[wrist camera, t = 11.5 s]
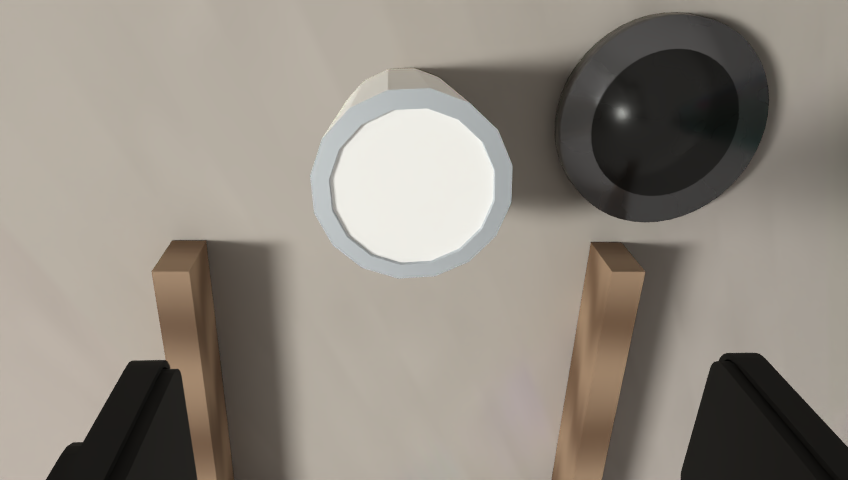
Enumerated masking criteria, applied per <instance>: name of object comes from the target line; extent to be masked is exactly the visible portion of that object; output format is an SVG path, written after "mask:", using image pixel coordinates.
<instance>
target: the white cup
mask: <svg viewBox="0 0 848 480" xmlns="http://www.w3.org/2000/svg"><path fill="white" fill-rule="evenodd" d="M512 166H513V165H512V163H511V160H510V158H509V156H508V153H507V151H506V148H505V146H504V143H503V141H502V138H501V136H500V133H499V131H498V129H497V128H495V127H494V126H493V125H492V124H491V123H490V122H489V121H488V120H487V119H486V118H485V117H484V116H483V115H482V114H481V113H480V112H479V111H478V110H477V109H476V108H475V107H474V106H472V105H471V104H470V103H469V102H468V101H467V100H466V99H465V98H463V97H462V96H461V95H460V94H458V93H457V92H456V91H455V90H454V89H452V88H451V87H450V86H449V85H448V84H446V83H445V82H444V81H443V80H442V79H440V78H439V77H437V76H434V75H432V74H429V73H426V72H424V71H421V70H418V69H416V68H404V69H387V70H385V71H383V72H381V73H379V74H377V75H375V76H373V77H370V78H368V79H366V80H364V81H363V82H362V83H361V85H360V86H359V87H358V88H357V89H356V90H355V91H354V93H353V94H352V95H351V96H350V97H349V98H348V99H347V101H346V102H345V104H344V105H343V107H342V108H341V110H340V112H339V113H338V115H337V116H336V118H335V119H334V121H333V122H332V124H331V126H330V127H329V129H328V130H327V132H326V133H325V135H324V136H323V138H322V141H321V144H320V147H319V150H318V153H317V156H316V159H315V162H314V165H313V169H312V172H311V175H310V179H311V188H312V197H313V206H314V214H315V215H316V217H317V219H318V221H319V222H320V224H321V226H322V227H323V229H324V231H325V233H326V234H327V236H328V238H329V240H330V241H331V243H332V245H333V246H334V247H336V248H337V249H338V250H340V251H341V252H342V253H343V254H345V255H346V256H347V257H349V258H350V259H351V260H353V261H354V262H355V263H356V264H358V265H359V266H360V267H362V268H364V269H368V270H371V271H374V272H378V273H381V274H384V275H388V276H391V277H395V278H414V277H430V276H437V275H439V274H441V273H444V272H446V271H448V270H451V269H453V268H455V267H458V266H460V265H462V264H465V263H467V262H469V261H470V260H471V259H472V258H473V257H474V256H475V255H477V254H478V253H479V252H480V251H481V250H482V249H483V248H484V247H485V246H486V245H487V244H488V243H489V242H490V241H491V240H492V239H493V238H494V237H495V236H496V235H497V233H498V230H499V228H500V226H501V224H502V222H503V220H504V217H505V215H506V213H507V211H508V209H509V207H510V204H511V198H512Z"/></svg>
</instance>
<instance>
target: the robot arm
mask: <svg viewBox="0 0 848 480" xmlns="http://www.w3.org/2000/svg"><path fill="white" fill-rule="evenodd" d="M46 480H198V479H197V473H196V466H195V460H194V453H193V447H192V440H191V434H190V427H189V421H188V414H187V408H186V401H185V394H184V388H183V381H182V375H181V372H180V370H179V369H170V365H169V363H168V361H166V360H144V361H131V362H129V363H128V365H127V366H126V368H125V370H124V371H123V373H122V375H121V377H120V378H119V380H118V382H117V384H116V385H115V387H114V389H113V391H112V392H111V394H110V396H109V398H108V399H107V401H106V403H105V405H104V406H103V408H102V410H101V412H100V413H99V415H98V417H97V419H96V420H95V422H94V424H93V426H92V427H91V429H90V431H89V433H88V434H87V436H86V438H85V440H84V442H74V443H72V444H70V445H68V446H67V447H66V449H65V450H64V451H63V452H62V454H61V455H60V457H59V459H58V460H57V462H56V464H55V465H54V467H53V469H52V470H51V472H50V474H49V475H48V477H47V479H46ZM681 480H848V447H847V446H846V445H845V444H844V443H843V442H842V440H841V439H840V438H839V437H838V436H837V435H836V434H835V433H834V432H833V431H832V430H831V429H830V428H829V427H828V425H827V424H826V423H825V422H824V421H823V420H822V419H821V418H820V417H819V416H818V415H817V414H816V413H815V412H814V410H813V409H812V408H811V407H810V406H809V405H808V404H807V403H806V402H805V401H804V400H803V399H802V398H801V396H800V395H799V394H798V393H797V392H796V391H795V390H794V389H793V388H792V387H791V386H790V385H789V384H788V383H787V381H786V380H785V379H784V378H783V377H782V376H781V375H780V374H779V373H778V372H777V371H776V370H775V369H774V368H773V366H772V365H771V364H770V363H769V362H768V361H767V360H766V359H765V358H764V357H763V356H762V355H760V354H758V353H726V354H723V355H722V356H721V357H720V359H719V361H716V362H714V363H713V364H712V365H711V368H710V371H709V374H708V378H707V382H706V385H705V389H704V392H703V396H702V399H701V403H700V406H699V410H698V414H697V417H696V421H695V424H694V428H693V431H692V435H691V438H690V442H689V446H688V449H687V453H686V456H685V460H684V463H683V467H682V471H681Z"/></svg>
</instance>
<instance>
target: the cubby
mask: <svg viewBox="0 0 848 480" xmlns="http://www.w3.org/2000/svg"><path fill="white" fill-rule="evenodd" d="M644 276H645V271H644V269H643V268H642V267H641V266H640V265H639V263H638V262H637V261H636V260H635V258H634V257H633V256H632V255H631V254H630V252H629V251H628V250H627V249H626V248H625V246H624V245H623V244H622V243H621V242H591V245H590V251H589V257H588V263H587V269H586V275H585V281H584V287H583V293H582V299H581V306H580V312H579V318H578V324H577V330H576V336H575V342H574V348H573V354H572V360H571V366H570V372H569V378H568V384H567V390H566V396H565V402H564V408H563V414H562V420H561V426H560V432H559V438H558V444H557V450H556V456H555V462H554V468H553V474H552V480H602V476H603V471H604V466H605V461H606V457H607V452H608V447H609V442H610V438H611V433H612V428H613V423H614V419H615V414H616V409H617V404H618V400H619V395H620V390H621V385H622V381H623V376H624V371H625V366H626V362H627V357H628V352H629V347H630V343H631V338H632V333H633V328H634V324H635V319H636V314H637V309H638V305H639V300H640V295H641V290H642V286H643V281H644ZM152 277H153V283H154V289H155V296H156V302H157V308H158V314H159V321H160V327H161V333H162V339H163V345H164V352H165V358H166V361H168V363H169V365H170V369H179V370H180V372H181V375H182V381H183V388H184V394H185V401H186V408H187V414H188V421H189V427H190V434H191V440H192V447H193V453H194V460H195V466H196V473H197V479H198V480H234V475H233V466H232V458H231V449H230V440H229V432H228V423H227V415H226V406H225V398H224V389H223V381H222V372H221V363H220V355H219V346H218V338H217V329H216V321H215V312H214V304H213V295H212V287H211V278H210V269H209V261H208V252H207V244H206V241H172V242H171V243H170V245H169V246H168V248H167V249H166V251H165V252H164V254H163V255H162V257H161V258H160V260H159V261H158V263H157V264H156V266H155V267H154V269H153V270H152Z"/></svg>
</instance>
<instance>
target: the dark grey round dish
mask: <svg viewBox="0 0 848 480" xmlns="http://www.w3.org/2000/svg"><path fill="white" fill-rule="evenodd" d="M768 105H769V95H768V85H767V80H766V75H765V72H764V69H763V66H762V64H761V61H760V60H759V58H758V56H757V54H756V52H755V51H754V49H753V48H752V47H751V46H750V44H749V43H748V42H747V41H746V40H745V39H744V38H743V37H742V36H741V35H740V34H739V33H738V32H736V31H735V30H733V29H731V28H730V27H728V26H727V25H725V24H722V23H720V22H718V21H716V20H713V19H709V18H705V17H701V16H697V15H693V14H687V13H678V12H672V13H659V14H653V15H648V16H645V17H642V18H638V19H635V20H633V21H631V22H628V23H626V24H624V25H622V26H620V27H618V28H617V29H615V30H614V31H612V32H610V33H609V34H607V35H606V36H605V37H603V38H602V39H601V40H600V41H598V42H597V43H596V44H595V45H594V46H593V47H592V48H591V49H590V50H589V51H588V52H587V53H586V54H585V55H584V57H583V58H582V59H581V60H580V62H579V63H578V64H577V65H576V67H575V69H574V70H573V72H572V74H571V75H570V77H569V78H568V81H567V83H566V85H565V87H564V89H563V91H562V95H561V98H560V101H559V104H558V108H557V114H556V121H555V140H556V147H557V152H558V156H559V159H560V162H561V165H562V167H563V169H564V171H565V173H566V175H567V176H568V178H569V179H570V181H571V182H572V183H573V185H574V186H575V187H576V189H577V190H578V191H579V192H580V193H581V195H582V196H583V197H584V198H585V199H586V200H587V201H589V202H590V203H591V204H592V205H594V206H595V207H596V208H598V209H599V210H601V211H603V212H605V213H607V214H609V215H611V216H614V217H617V218H620V219H623V220H628V221H634V222H658V221H664V220H670V219H674V218H677V217H680V216H684V215H686V214H688V213H691V212H693V211H695V210H697V209H699V208H701V207H703V206H705V205H706V204H708V203H709V202H711V201H712V200H714V199H715V198H717V197H718V196H719V195H721V194H722V193H723V192H724V191H725V190H726V189H727V188H729V187H730V186H731V185H732V184H733V182H734V181H735V180H736V179H737V178H738V177H739V176H740V175H741V173H742V172H743V171H744V169H745V168H746V167H747V165H748V164H749V162H750V161H751V159H752V157H753V156H754V154H755V152H756V150H757V148H758V146H759V143H760V141H761V138H762V135H763V132H764V129H765V126H766V121H767V116H768Z"/></svg>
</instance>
